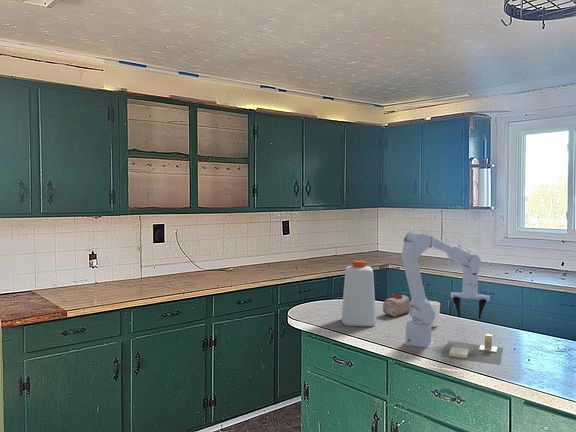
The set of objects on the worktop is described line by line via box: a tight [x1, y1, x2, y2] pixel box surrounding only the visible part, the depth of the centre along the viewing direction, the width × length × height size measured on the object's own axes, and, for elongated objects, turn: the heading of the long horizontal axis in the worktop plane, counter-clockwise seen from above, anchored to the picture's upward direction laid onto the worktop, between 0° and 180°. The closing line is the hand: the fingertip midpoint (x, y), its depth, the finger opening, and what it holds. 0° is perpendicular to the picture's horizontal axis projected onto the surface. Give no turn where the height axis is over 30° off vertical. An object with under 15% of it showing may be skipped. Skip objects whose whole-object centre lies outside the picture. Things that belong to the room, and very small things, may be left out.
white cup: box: [428, 300, 441, 328], centre depth 226 cm, size 8×8×10 cm
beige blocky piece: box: [479, 333, 498, 353], centre depth 190 cm, size 6×6×6 cm
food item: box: [382, 293, 410, 318], centre depth 244 cm, size 14×8×10 cm, turn 135°
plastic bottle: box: [341, 259, 377, 328], centre depth 229 cm, size 15×15×28 cm
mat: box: [440, 340, 504, 366], centre depth 188 cm, size 20×20×1 cm
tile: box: [449, 347, 469, 359], centre depth 185 cm, size 6×1×7 cm
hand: (469, 317), depth 203 cm, fingers open, 7 cm apart
